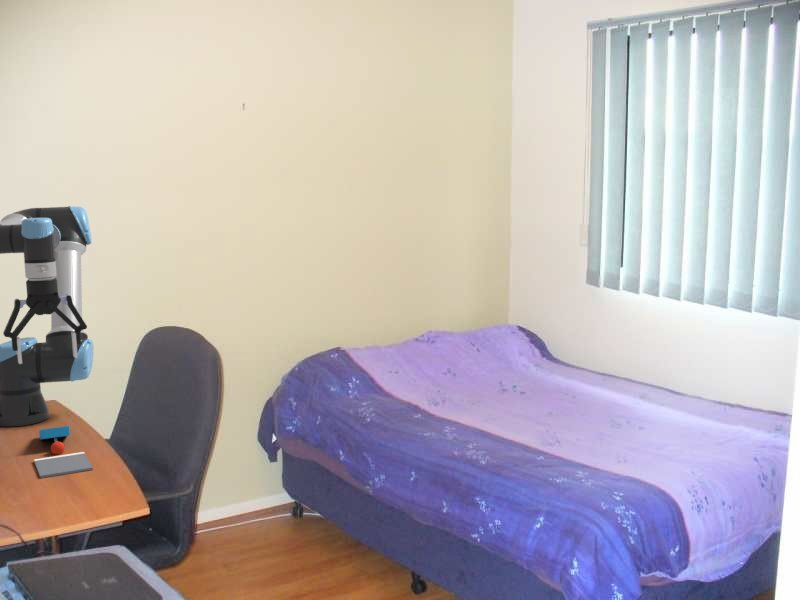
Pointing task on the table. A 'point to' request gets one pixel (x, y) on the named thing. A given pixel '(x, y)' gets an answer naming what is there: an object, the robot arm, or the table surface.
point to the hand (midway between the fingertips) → (48, 359)
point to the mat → (62, 464)
